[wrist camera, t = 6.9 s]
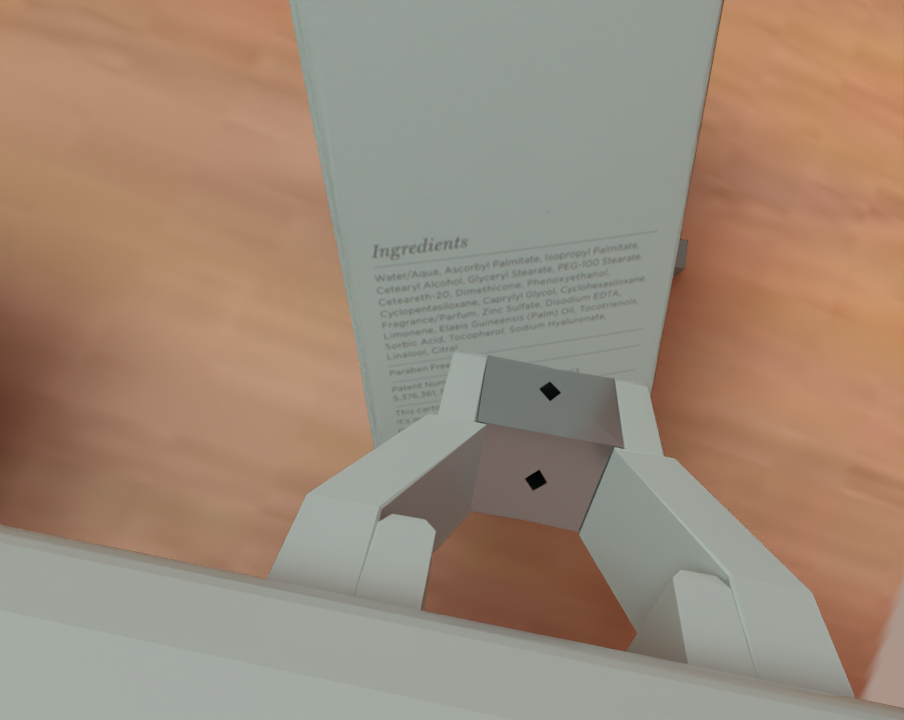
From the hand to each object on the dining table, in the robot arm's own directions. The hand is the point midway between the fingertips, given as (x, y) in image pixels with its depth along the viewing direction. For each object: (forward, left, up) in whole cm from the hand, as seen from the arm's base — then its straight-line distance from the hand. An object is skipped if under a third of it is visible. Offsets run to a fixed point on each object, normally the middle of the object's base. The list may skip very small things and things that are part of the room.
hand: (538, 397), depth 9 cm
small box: (0, +1, -7) cm, 7 cm away
